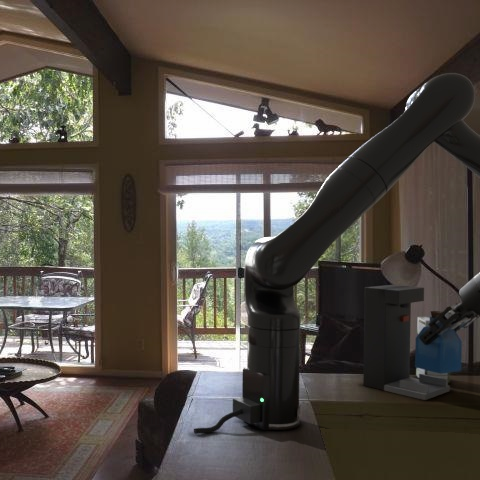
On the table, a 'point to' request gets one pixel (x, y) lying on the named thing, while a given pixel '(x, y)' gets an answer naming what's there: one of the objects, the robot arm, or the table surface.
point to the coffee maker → (394, 343)
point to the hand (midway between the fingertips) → (431, 339)
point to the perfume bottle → (439, 351)
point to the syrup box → (420, 324)
